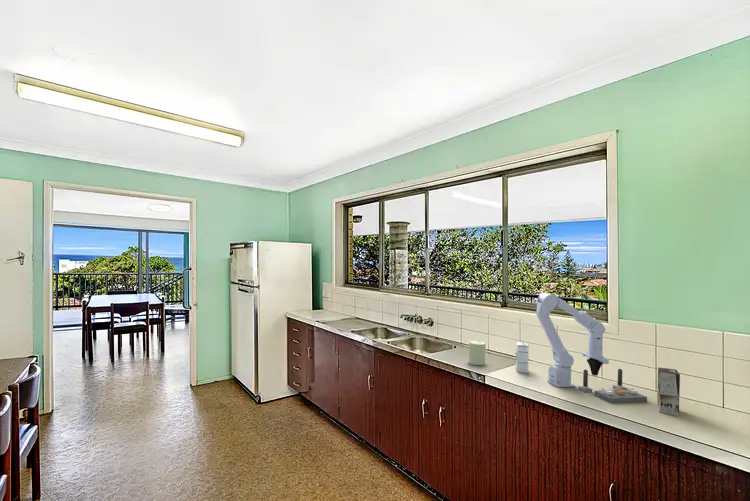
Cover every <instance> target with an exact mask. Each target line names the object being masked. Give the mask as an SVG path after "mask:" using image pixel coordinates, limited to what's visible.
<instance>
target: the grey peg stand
mask: <svg viewBox="0 0 750 501" xmlns="http://www.w3.org/2000/svg"><path fill="white" fill-rule="evenodd" d="M582 375H583V376H582V377H583V378H582V381H583V382H582V385H581V386H580V385H579V386H577V387H578V388H577V389H578V390H579V391H580V392H583V393H593V388H591V387H589V386H588V385H589V384H588V383H589V371H588V370H587V369H583V374H582Z"/></svg>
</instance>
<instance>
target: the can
mask: <svg viewBox="0 0 750 501" xmlns="http://www.w3.org/2000/svg"><path fill="white" fill-rule="evenodd" d="M486 344H487V343H486V342H484V341H480V340H479V341H478V340H470V341H469V344H468V350H469V351H468V363H469V364H470V365H474V366H484V365H486V349H487V348H486Z"/></svg>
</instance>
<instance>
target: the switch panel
mask: <svg viewBox="0 0 750 501" xmlns="http://www.w3.org/2000/svg"><path fill="white" fill-rule="evenodd" d="M610 390H611V391H613V392H614V395H608V394H606V393H604V392H603V389H601V390H594V392H593V395H594V397H597V398H599V399H602V400H603V401H606V402H608V403H609V404H616V403H617V404H618V403H620V404H622V403H623V404H625V403H645V402H648V396H646V395H643V394H642V393H639V392H638V394H632V393H629V392H627V390H623V391H626V394H619V393H617V392H615V389H610Z"/></svg>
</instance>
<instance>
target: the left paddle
mask: <svg viewBox="0 0 750 501" xmlns="http://www.w3.org/2000/svg"><path fill="white" fill-rule="evenodd" d="M602 390H603V392H604V393H606V394H608V395H614V392H613V391H611V390H612V389H610V388H607V387H606V388H602Z"/></svg>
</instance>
